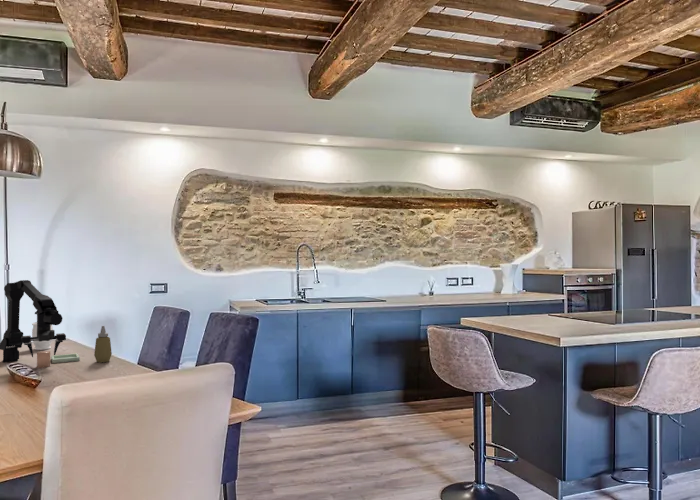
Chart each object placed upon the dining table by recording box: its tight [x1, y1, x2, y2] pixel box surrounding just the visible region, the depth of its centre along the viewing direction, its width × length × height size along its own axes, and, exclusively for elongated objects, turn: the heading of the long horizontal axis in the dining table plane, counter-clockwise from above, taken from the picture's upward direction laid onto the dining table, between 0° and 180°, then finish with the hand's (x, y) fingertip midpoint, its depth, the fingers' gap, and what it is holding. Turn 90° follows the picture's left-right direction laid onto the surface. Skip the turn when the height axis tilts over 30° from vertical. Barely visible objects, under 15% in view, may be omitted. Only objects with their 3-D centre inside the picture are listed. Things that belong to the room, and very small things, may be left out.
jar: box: [31, 321, 54, 351], centre depth 307 cm, size 11×10×15 cm
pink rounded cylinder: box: [36, 350, 51, 369], centre depth 260 cm, size 6×6×7 cm
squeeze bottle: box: [94, 325, 113, 364], centre depth 272 cm, size 8×8×18 cm
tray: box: [51, 353, 81, 364], centre depth 275 cm, size 12×12×2 cm
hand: (43, 356), depth 260 cm, fingers open, 9 cm apart
